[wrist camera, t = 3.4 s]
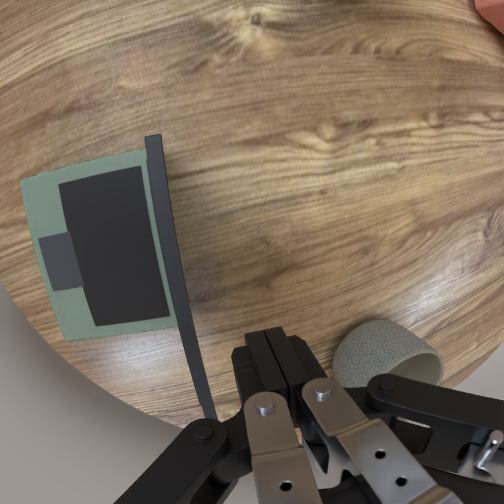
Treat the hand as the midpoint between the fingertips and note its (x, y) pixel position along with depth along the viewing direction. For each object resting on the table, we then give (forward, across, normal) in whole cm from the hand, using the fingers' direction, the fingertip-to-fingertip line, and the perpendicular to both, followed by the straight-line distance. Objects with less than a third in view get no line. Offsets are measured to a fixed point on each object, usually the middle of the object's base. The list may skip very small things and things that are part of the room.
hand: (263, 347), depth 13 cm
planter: (+20, -17, +19) cm, 33 cm away
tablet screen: (+11, +4, 0) cm, 12 cm away
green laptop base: (+20, +12, 0) cm, 23 cm away
